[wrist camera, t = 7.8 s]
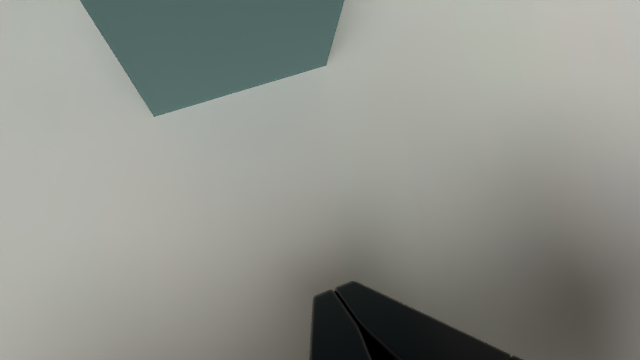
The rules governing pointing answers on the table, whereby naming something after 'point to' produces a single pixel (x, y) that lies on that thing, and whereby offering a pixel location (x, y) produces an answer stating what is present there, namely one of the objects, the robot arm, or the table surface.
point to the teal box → (213, 44)
